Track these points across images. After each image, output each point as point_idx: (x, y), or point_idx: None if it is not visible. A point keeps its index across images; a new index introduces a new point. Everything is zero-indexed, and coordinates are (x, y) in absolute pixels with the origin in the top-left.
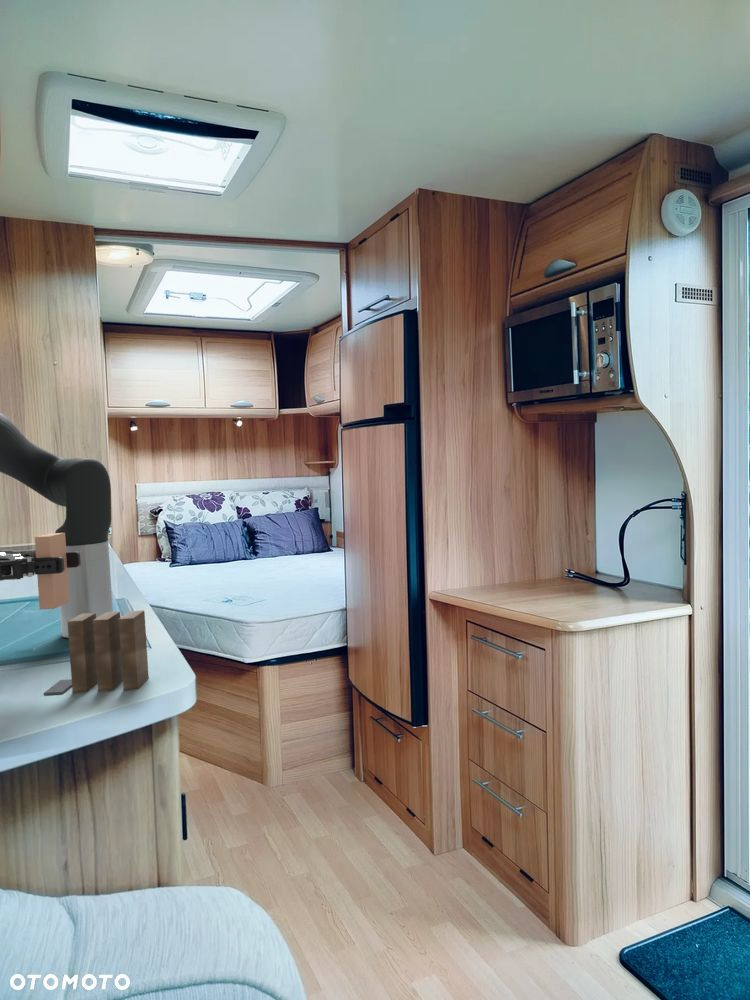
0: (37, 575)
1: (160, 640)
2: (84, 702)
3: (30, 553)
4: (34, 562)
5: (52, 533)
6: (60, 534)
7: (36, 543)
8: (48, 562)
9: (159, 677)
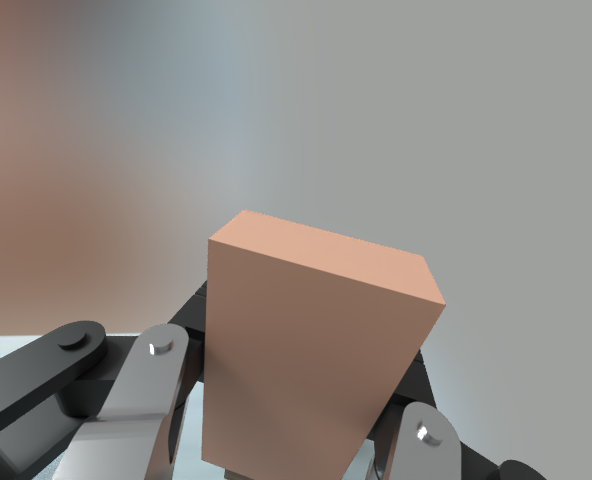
0: (362, 441)
1: (30, 340)
2: (349, 466)
3: (154, 463)
4: (434, 406)
5: (228, 235)
6: (296, 225)
7: (426, 330)
8: (419, 350)
9: None
